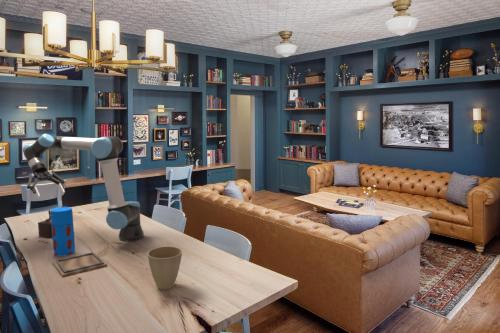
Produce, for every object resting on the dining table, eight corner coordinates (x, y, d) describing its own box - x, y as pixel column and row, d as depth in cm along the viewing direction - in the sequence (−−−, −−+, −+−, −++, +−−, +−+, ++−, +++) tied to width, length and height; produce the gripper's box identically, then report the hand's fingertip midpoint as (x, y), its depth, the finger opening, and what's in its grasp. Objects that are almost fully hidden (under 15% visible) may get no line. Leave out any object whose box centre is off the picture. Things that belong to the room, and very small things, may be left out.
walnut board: (94, 254, 206) (94, 251, 206) (107, 266, 190) (107, 262, 190) (52, 263, 193) (52, 260, 193) (62, 277, 177) (62, 273, 177)
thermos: (61, 257, 202) (58, 212, 199) (49, 254, 207) (46, 210, 204) (79, 251, 211) (76, 208, 208) (67, 248, 217) (64, 206, 213)
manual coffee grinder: (51, 238, 234) (49, 210, 232) (38, 236, 238) (36, 209, 235) (70, 231, 248) (69, 205, 246) (58, 230, 252) (56, 204, 250)
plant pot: (151, 296, 158) (150, 260, 156) (146, 282, 171) (145, 249, 169) (186, 289, 164) (185, 255, 162) (178, 276, 177) (177, 244, 175)
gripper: (57, 168, 230) (71, 195, 223) (12, 173, 211) (26, 203, 204) (61, 160, 227) (75, 187, 219) (15, 164, 207) (29, 194, 200)
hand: (51, 195), depth 212 cm, fingers open, 13 cm apart
